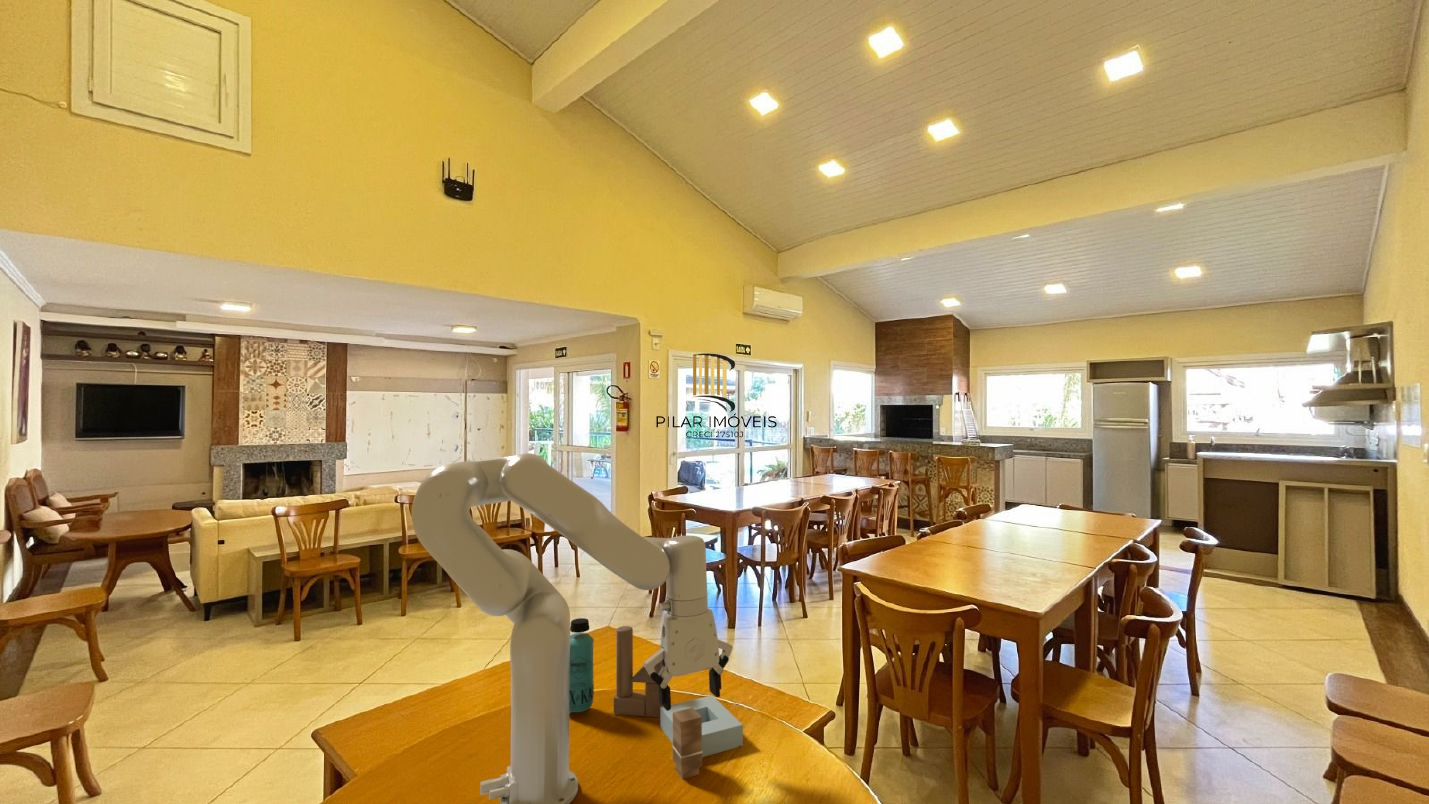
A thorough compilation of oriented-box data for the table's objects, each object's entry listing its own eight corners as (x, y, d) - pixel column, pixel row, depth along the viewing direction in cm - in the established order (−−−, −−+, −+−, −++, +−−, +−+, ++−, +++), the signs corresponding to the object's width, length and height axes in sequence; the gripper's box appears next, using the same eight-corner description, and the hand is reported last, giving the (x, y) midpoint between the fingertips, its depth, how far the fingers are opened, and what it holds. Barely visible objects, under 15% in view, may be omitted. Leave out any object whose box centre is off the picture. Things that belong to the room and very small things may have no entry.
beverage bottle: (560, 710, 124) (560, 618, 125) (589, 703, 127) (590, 613, 129) (567, 723, 118) (567, 626, 120) (597, 715, 121) (598, 621, 123)
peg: (681, 781, 98) (680, 722, 98) (672, 769, 101) (672, 712, 102) (702, 775, 99) (702, 717, 100) (693, 763, 103) (693, 707, 104)
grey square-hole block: (686, 761, 104) (686, 739, 104) (660, 727, 116) (660, 707, 116) (742, 745, 109) (742, 724, 109) (712, 714, 121) (712, 695, 122)
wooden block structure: (661, 718, 120) (660, 632, 121) (613, 715, 122) (613, 630, 123) (665, 710, 124) (664, 627, 125) (618, 707, 125) (618, 625, 126)
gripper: (649, 619, 95) (652, 722, 94) (738, 602, 103) (742, 697, 102) (636, 607, 102) (639, 703, 101) (720, 592, 110) (724, 682, 109)
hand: (690, 700), depth 101 cm, fingers open, 9 cm apart
